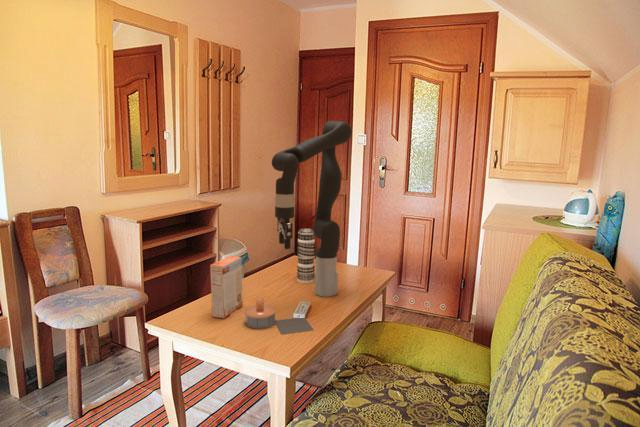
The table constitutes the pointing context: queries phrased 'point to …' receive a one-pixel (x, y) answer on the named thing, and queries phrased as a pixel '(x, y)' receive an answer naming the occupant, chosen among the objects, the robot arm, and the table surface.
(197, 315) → the table surface
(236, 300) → the cracker box
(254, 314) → the lid
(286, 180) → the robot arm
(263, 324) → the bowl
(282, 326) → the mat
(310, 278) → the decorative candle
